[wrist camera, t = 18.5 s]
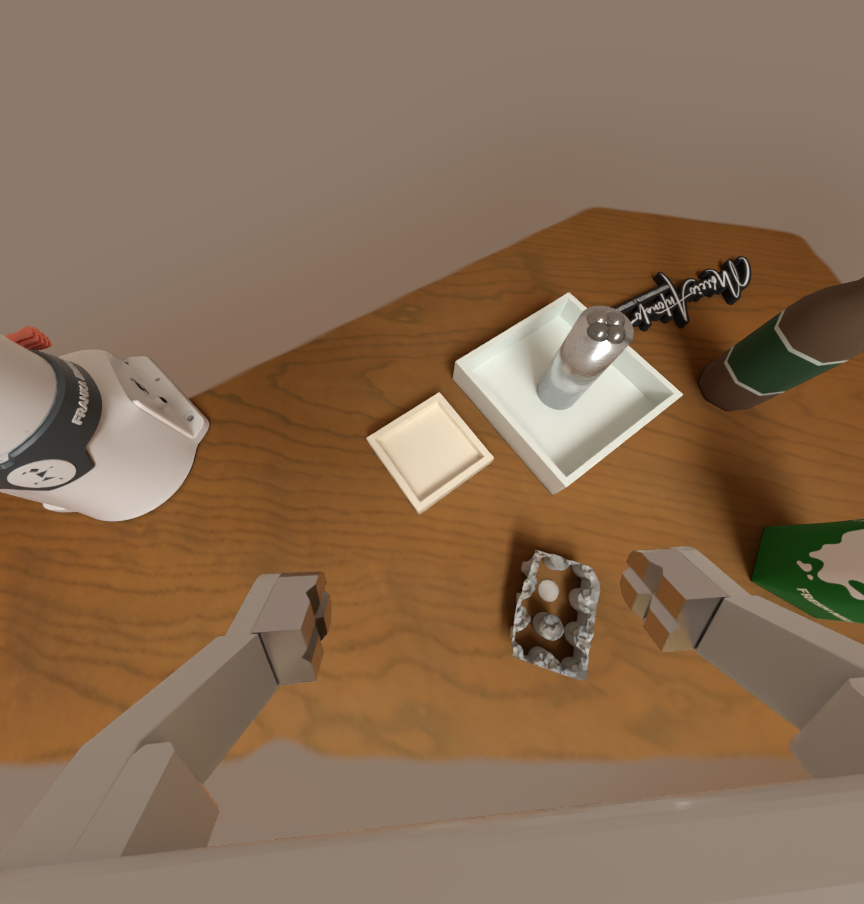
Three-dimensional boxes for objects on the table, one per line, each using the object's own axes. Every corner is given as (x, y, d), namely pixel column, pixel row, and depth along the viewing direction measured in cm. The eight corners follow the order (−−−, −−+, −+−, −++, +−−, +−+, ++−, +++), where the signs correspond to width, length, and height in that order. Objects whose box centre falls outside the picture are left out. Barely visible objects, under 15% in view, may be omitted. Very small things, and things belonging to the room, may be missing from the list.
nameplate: (725, 240, 52) (773, 280, 50) (717, 249, 54) (764, 288, 51) (597, 300, 47) (642, 348, 44) (592, 308, 49) (635, 355, 46)
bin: (452, 379, 44) (455, 361, 40) (557, 313, 48) (568, 292, 44) (552, 495, 38) (566, 487, 34) (660, 409, 42) (683, 394, 39)
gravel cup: (528, 387, 42) (570, 315, 30) (557, 367, 44) (609, 290, 31) (556, 417, 41) (612, 354, 29) (586, 395, 42) (651, 326, 30)
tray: (368, 444, 40) (366, 437, 38) (438, 399, 42) (439, 392, 40) (418, 514, 37) (418, 512, 35) (490, 463, 39) (494, 458, 38)
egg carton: (523, 546, 36) (535, 543, 33) (588, 569, 36) (607, 569, 32) (499, 647, 33) (509, 657, 29) (571, 675, 32) (590, 689, 28)
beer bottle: (683, 380, 44) (951, 184, 22) (721, 356, 46) (1009, 151, 23) (727, 423, 42) (1076, 256, 19) (765, 397, 43) (1131, 214, 21)
